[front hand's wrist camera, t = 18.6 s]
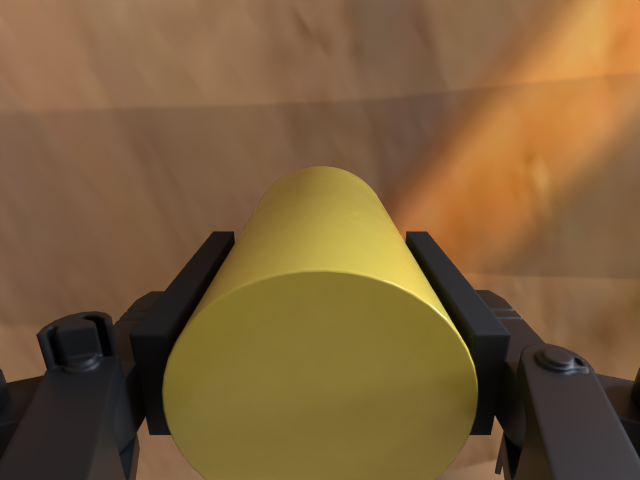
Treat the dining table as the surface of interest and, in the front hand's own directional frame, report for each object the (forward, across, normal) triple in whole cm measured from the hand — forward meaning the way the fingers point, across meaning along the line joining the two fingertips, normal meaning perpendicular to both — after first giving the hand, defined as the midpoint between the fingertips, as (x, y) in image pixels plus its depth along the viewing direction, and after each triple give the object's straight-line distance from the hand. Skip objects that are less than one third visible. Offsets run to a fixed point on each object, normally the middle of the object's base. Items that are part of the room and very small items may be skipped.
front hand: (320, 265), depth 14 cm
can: (+4, 0, 0) cm, 4 cm away
